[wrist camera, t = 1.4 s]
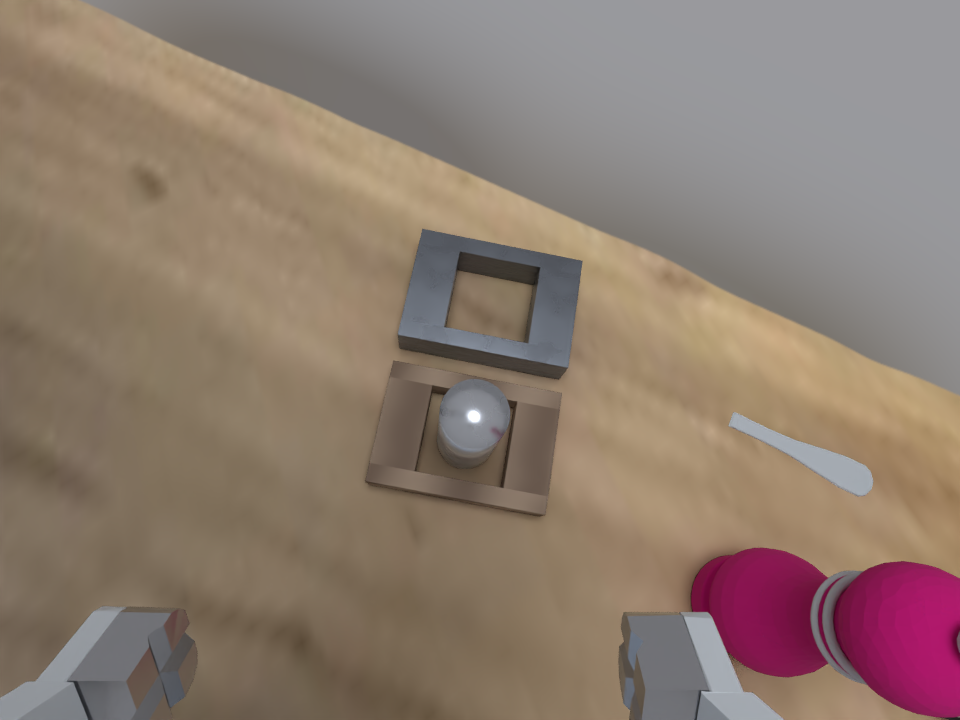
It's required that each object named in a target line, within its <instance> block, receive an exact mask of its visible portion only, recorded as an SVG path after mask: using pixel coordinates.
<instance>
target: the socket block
mask: <svg viewBox="0 0 960 720" xmlns="http://www.w3.org/2000/svg"><path fill="white" fill-rule="evenodd" d="M581 268H582V261H580V260H575V259H570V258H565V257H560V256H555V255H550V254H545V253H540V252H535V251H530V250H525V249H520V248H515V247H510V246H505V245H500V244H495V243H490V242H485V241H480V240H475V239H470V238H465V237H460V236H455V235H450V234H445V233H440V232H435V231H430V230H425V229H422V233H421V238H420V242H419V246H418V250H417V255H416V259H415V263H414V267H413V272H412V276H411V280H410V284H409V289H408V293H407V297H406V302H405V306H404V310H403V314H402V319H401V323H400V327H399V331H398V340H399V348H400V349H405V350H410V351H415V352H420V353H425V354H431V355H436V356H441V357H446V358H451V359H456V360H462V361H467V362H472V363H477V364H482V365H487V366H492V367H498V368H503V369H508V370H513V371H518V372H523V373H528V374H534V375H539V376H544V377H549V378H554V379H560V377H561V376H562V375H563V374H564V372H565V371H566V370H567V368H568V365H569V357H570V350H571V342H572V335H573V328H574V320H575V313H576V305H577V298H578V290H579V283H580V276H581ZM458 270H461V271H466V272H471V273H477V274H482V275H487V276H492V277H497V278H502V279H507V280H512V281H517V282H522V283H527V284H532V285H533V290H532V297H531V303H530V309H529V315H528V321H527V327H526V334H525V340H524V342H519V341H513V340H508V339H503V338H498V337H493V336H488V335H483V334H478V333H473V332H468V331H462V330H457V329H452V328H447V327H446V323H447V319H448V314H449V309H450V304H451V299H452V295H453V290H454V285H455V280H456V275H457V271H458Z"/></svg>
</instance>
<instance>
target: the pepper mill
mask: <svg viewBox="0 0 960 720" xmlns="http://www.w3.org/2000/svg"><path fill="white" fill-rule="evenodd" d="M691 603H692V610H693V612H708V613H709V614H710V615H711V616H712V618H713V620H714V623H715V625H716V627H717V630H718V632H719V635H720V637H721V639H722V642H723V644H724V646H725V649H726V651H727V652H728V653H730V654H731V655H732V656H733V657H734V658H736V659H737V660H738V661H739V662H741V663H742V664H743V665H745V666H746V667H748V668H750V669H752V670H754V671H756V672H760V673H763V674H767V675H772V676H778V677H793V676H799V675H804V674H807V673H811V672H815V671H816V670H818V669H820V668H821V667H823V666H825V665H826V664H828V663H829V664H830V665H831V666H832V667H833V668H834V669H835V670H836V671H838V672H839V673H840V674H842V675H844V676H845V677H847V678H849V679H851V680H853V681H855V682H859V683H863V684H866V685H868V686H869V687H870V688H871V689H872V690H873V691H875V692H876V693H877V694H878V695H880V696H881V697H883V698H884V699H886V700H888V701H889V702H891V703H892V704H894V705H896V706H899V707H901V708H903V709H905V710H908V711H911V712H913V713H916V714H921V715H927V716H933V717H959V716H960V578H958V577H956V576H954V575H952V574H949V573H947V572H945V571H943V570H941V569H939V568H936V567H932V566H929V565H924V564H918V563H912V562H905V561H901V562H890V563H883V564H880V565H877V566H874V567H871V568H869V569H867V570H865V571H843V572H839V573H837V574H834V575H833V576H831V577H829V578H828V577H826V576H825V575H824V574H823V573H821V572H820V571H819V570H818V569H817V568H816V567H814V566H813V565H812V564H810V563H809V562H807V561H805V560H803V559H801V558H799V557H797V556H795V555H793V554H790V553H788V552H785V551H781V550H776V549H768V548H752V549H747V550H744V551H741V552H739V553H737V554H735V555H727V556H721V557H718V558H715V559H713V560H712V561H710V562H709V563H707V564H706V565H705V566H704V567H703V568H702V569H701V570H700V572H699V573H698V575H697V577H696V579H695V581H694V584H693V588H692V594H691Z"/></svg>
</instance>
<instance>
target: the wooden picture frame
mask: <svg viewBox="0 0 960 720" xmlns="http://www.w3.org/2000/svg"><path fill="white" fill-rule="evenodd" d="M468 379H481V380H485V381H488V382H490V383H492V384H494V385H495V386H496V387H498V388H499V389H500V390H501V391H502V392H503V394H504V395H505V397H506V399H507V401H508V404H509V407H511V408H513V414H512V420H511V426H510V433H509V439H508V445H507V451H506V457H505V463H504V470H503V476H502V482H501V487H495V486H490V485H485V484H479V483H474V482H469V481H463V480H458V479H453V478H448V477H442V476H437V475H432V474H426V473H421V472H416V468H417V463H418V458H419V453H420V448H421V444H422V439H423V434H424V429H425V424H426V420H427V415H428V410H429V405H430V400H431V396H432V392H433V393H438V394H443V395H445V394H446V393H447V391H448V390H449V389H450V388H451V387H453V386H454V385H455V384H457V383H459V382H461V381H464V380H468ZM561 397H562V393H558V392H553V391H548V390H543V389H538V388H532V387H527V386H522V385H517V384H512V383H507V382H502V381H496V380H491V379H486V378H481V377H476V376H471V375H465V374H460V373H455V372H450V371H445V370H440V369H434V368H429V367H424V366H419V365H414V364H409V363H403V362H398V361H393V365H392V369H391V373H390V377H389V382H388V386H387V390H386V395H385V399H384V403H383V407H382V412H381V416H380V420H379V424H378V429H377V433H376V437H375V442H374V446H373V450H372V454H371V459H370V463H369V467H368V472H367V476H366V480H365V481H366V482H367V483H368V484H370V485H375V486H380V487H386V488H391V489H396V490H402V491H407V492H412V493H418V494H423V495H428V496H434V497H439V498H444V499H450V500H455V501H460V502H466V503H471V504H476V505H482V506H487V507H492V508H498V509H503V510H508V511H514V512H519V513H524V514H530V515H535V516H543V515H545V514H546V507H547V500H548V492H549V485H550V478H551V470H552V463H553V456H554V448H555V441H556V434H557V426H558V419H559V411H560V404H561Z"/></svg>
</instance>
